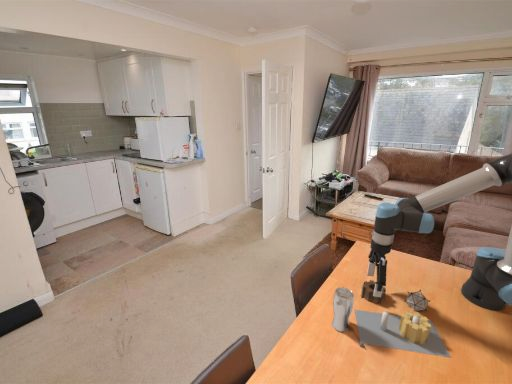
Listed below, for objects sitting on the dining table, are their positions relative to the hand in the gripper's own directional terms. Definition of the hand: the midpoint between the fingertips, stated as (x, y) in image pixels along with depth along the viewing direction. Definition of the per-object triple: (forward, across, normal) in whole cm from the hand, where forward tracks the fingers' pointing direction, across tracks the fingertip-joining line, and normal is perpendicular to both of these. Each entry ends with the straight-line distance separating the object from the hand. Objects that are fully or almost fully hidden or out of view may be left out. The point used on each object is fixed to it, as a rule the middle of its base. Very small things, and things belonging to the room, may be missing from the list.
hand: (373, 285), depth 112 cm
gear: (+5, +18, +10) cm, 21 cm away
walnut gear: (+7, 0, 0) cm, 7 cm away
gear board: (+7, +18, +6) cm, 20 cm away
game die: (+7, +3, +16) cm, 18 cm away
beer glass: (+7, +18, -14) cm, 24 cm away
